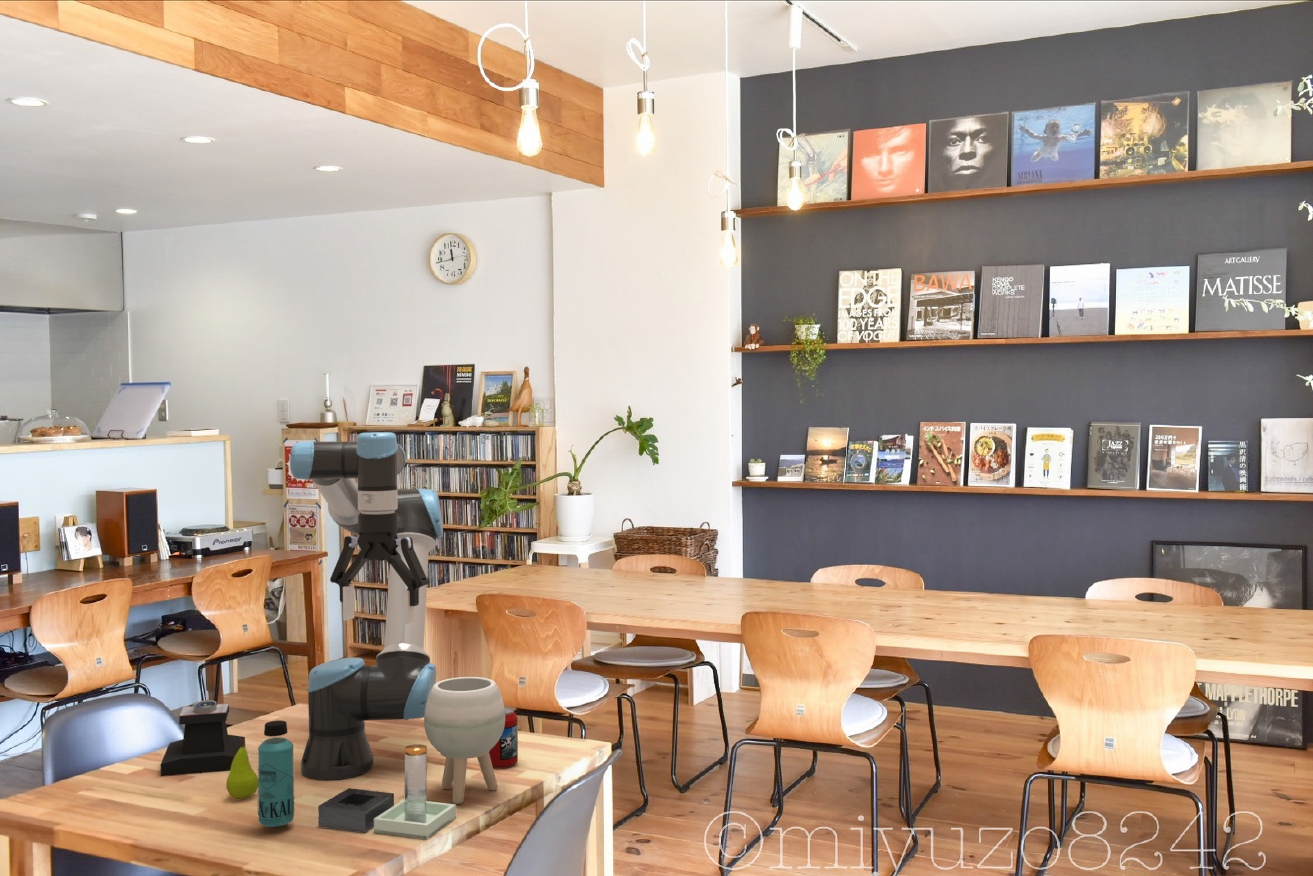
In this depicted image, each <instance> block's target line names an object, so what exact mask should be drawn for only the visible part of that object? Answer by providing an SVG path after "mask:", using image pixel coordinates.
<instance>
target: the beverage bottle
mask: <svg viewBox="0 0 1313 876" xmlns="http://www.w3.org/2000/svg"><path fill="white" fill-rule="evenodd" d="M286 734H288V724H287V721H285V720H280V719H279V720H271V721H268V722H266V723H264V730H263V735H264V736H266V737H270V738H267V739H265V740H264V741H262V743H260V744H259V745H258V747H257V751H258V753H257V754H258V768H257V774H258V775H257V777H258V784H257V785H258V789H257V794H258V810H257V819H258V823H259V825H260V826H262V827H269V828H270V827H271V828H274V827H280V826H284V825H287V824H290V823H291V822H292V821H293V820H294V816H295V777H294V744H293V742H292V741H290V740H289V739H288V738H286V737H282V736H285V735H286Z"/></svg>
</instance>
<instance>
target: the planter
mask: <svg viewBox="0 0 1313 876" xmlns="http://www.w3.org/2000/svg"><path fill="white" fill-rule="evenodd" d="M504 707H505V704H504V698H503V695H502V693H501V689H500V688H499V687H498V684H497V683H496V682H495V680H493V679H490V678H487V677H479V676H461V677H452V678H447V679H443V680H440V681H436V683H435V684H434V685H433V687H432V689H431V691H430V693H429V696H428V699H427V702H426V707H425V714H424V717H423V718H424V719H423V721H424V722H423V727H424V732H425V736H426V738H427V739H428V741H429V743H430V745H431V746H432V747H433V748H434V749H435V750H436V751H437V752H438V753H440V755H441V756H442V757H445V763H444V769H443V774H442V779H441V788H442V789H444V790H449V789H451V787H452V804H455V805H461V804H462V803H463V802H464V799H465V788H466V787H465V786H466V777H467V766H468V759H473V758H474V759H475V758H477V762H478V764H479V768H480V771H481V774H482V776H483V779H484V782H485V786H486V788H487V789H488V790H489V791H496V790H497V789H498V782H497V778H496V774H495V770H494V767H492V763H491V759H490V755H489V751H490V750H491V749H492V748H493V747H494V746H495V745H496V743H497V742H498V740H499V739H500V737H501V735H502V733H503V730H504V726H505V708H504Z"/></svg>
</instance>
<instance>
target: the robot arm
mask: <svg viewBox="0 0 1313 876" xmlns="http://www.w3.org/2000/svg"><path fill="white" fill-rule="evenodd" d="M397 441H398V440H397V435H396V434H395V433H394V432H390V431H389V432H385V431H384V432H379V431H377V432H374V431H373V432H361V433H359V434H358V435H357V439H356V440H355V441H353V440H351V441H350V440H349V441H315V440H314V441H313V440H309V441H300V442H299V441H298V442H295V443H294V444H293V445H292V447H291V449H290V454H289V466H290V468H289V469H290V473H291V476H292V478H294V479H297V480H305V481H307V480H308V481H309V480H311V482H312V483H313V484H314V486H315V487H316V488H317V490H318V492H319V493H320V494H321V496H322V498H323V499H324V500H325V502H326V503H327V511H328V514H329V516H330V517H331V518H332V521H333V522H334V523H336V525H338V526H339V527H341V528H342V529H343V530H346V531H348V532H349V533H351V534H352V535H346V536H344V538H343V548H342V550H341V552H340V554H339V557H338V559H337V562H336V564H335V566H334V568H333V571H332V574H331V576H330V578H329V581H330V582H331V583H333V584H336V585H338V587H339V601H340V603H342V611H343V612H342V615H343V616H342V618H343V619H342V620H343V621H349V620H352V619H355V585H354V584H352V581H353V580H354V578H355V577H356V576H357V575H358V573H359V572H360V571H361V569H362V568H363V567H364V565H365V564H366V563H367V561H375V560H377V561H381V562H382V561H386V562H387V564H389V574H388V588H387V604H386V617H385V629H384V631H385V632H384V643H383V644H384V645H383V646H384V647H383V650H381V651H380V652H379V653H378V654H377V655H376V659H375V664H373V665H366V663H365V661H364V659H363V658H361V657H345V658H343V657H342V658H339V659H333V660H330V661H326V662H324V663H321V664H319V665H316V666H314V667H313V668H312V669H311V670H310V671H309V674H308V685H307V687H308V688H307V689H306V690H307V694H308V695H307V696H308V697H307V700H308V702H307V703H308V736H307V737H308V738H307V741H306V744H305V749H304V750H303V754H302V757H301V761H300V773H301V775H302V776H304V777H306V778H309V779H314V780H324V781H325V780H330V781H331V780H342V779H348V778H354V777H357V776H360V775H363V774H365V773H367V772H369V771H371V770H372V769H373V768H374V753H373V752H372V748H371V745H370V742H369V738H368V736H367V734H366V728H365V727H366V726H365V721H387V720H388V721H391V720H394V721H396V720H404V721H409V720H414V719H415V720H416V719H423V718H424V714H425V707H426V702H427V699H428V696H429V693H430V691H431V689H432V687H433V685H434V684H435V683H437V681H436V680H437V666H436V665H435V664H434V663H433V662H432V663H431V656H430V655H429V654H428V653H427V652H426V651H425V649H424V647H425V646H424V645H425V628H426V626H425V625H426V608H427V591H428V589H427V588H428V584H429V580H428V573H429V572H428V571H429V567H428V566H429V553H430V552H431V551H432V550H433V549H435V547H436V543H437V541H436V540H439V539H441V538H443V536H444V528H443V527H444V526H443V517H442V510H441V509H442V508H441V503H440V498H439V494H438V493H437V491H436V490H434V489H430V488H429V489H427V488H424V489H423V488H419V487H418V488H408V489H406V488H405V489H404V488H399V489H398V475H399V474H401V472H403V469H404V468H405V466H406V463H407V457H406V456H407V455H406V451H405V450H404V448H403V447H402V446H401V445H400V444H399V443H398V442H397ZM355 479H357V481H356V480H355ZM357 536H358V537H357ZM357 546H358V547H359V548H360V550H359V552H358V553H357V555H356V556H355V558H354V560H353V561H352V563H351V564H350V562H351V559H353V558H352V557H353V555H354V554H355V553H354V552H355V550H356V548H357ZM349 564H350V566H349Z"/></svg>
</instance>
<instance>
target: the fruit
mask: <svg viewBox="0 0 1313 876" xmlns="http://www.w3.org/2000/svg"><path fill="white" fill-rule="evenodd" d="M239 739H240V740H241V742H242V746H243V747H240V749H239V750H238V752H237V753H236V755H235V757H234V759H233V762H232V765H231V769H230V771H229V774H228V776H227V779H226V790H227V792H228V794H229V796H230V797H231V798H233V799H235V800H239V801H240V800H244V799H248V798H250V797H251V796H253V795H254V793H256V792H258V785H257V784H258V777H257V776H258V775H257V773H256V772H255V771H254V769H253V768H252V766H251V765H252V764H251V763H250V760H249V755H248V751H247V748H246V746H245V747H244V744H243V741H242V739H241V738H239Z"/></svg>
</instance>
